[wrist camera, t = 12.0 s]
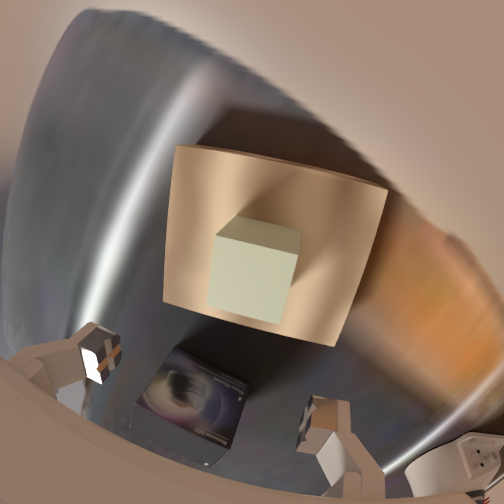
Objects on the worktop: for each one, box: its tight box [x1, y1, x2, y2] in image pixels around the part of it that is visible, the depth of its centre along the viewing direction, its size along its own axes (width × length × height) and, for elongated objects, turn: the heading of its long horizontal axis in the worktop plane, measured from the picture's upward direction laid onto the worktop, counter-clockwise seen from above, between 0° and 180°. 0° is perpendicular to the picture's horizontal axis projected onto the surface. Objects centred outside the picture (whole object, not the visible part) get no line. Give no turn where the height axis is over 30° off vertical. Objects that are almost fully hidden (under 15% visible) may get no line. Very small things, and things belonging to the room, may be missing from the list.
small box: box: [130, 346, 251, 468], centre depth 30 cm, size 11×6×10 cm, turn 66°
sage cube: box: [206, 215, 302, 325], centre depth 20 cm, size 5×5×5 cm
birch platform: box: [163, 144, 388, 347], centre depth 25 cm, size 16×14×4 cm
